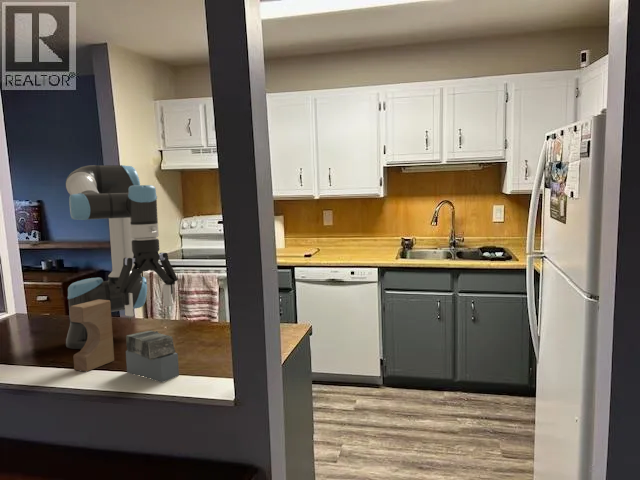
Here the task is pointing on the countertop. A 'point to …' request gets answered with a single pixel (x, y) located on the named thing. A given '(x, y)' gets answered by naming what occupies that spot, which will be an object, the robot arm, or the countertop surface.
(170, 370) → the block
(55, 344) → the countertop surface
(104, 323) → the decorative block
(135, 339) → the stone block
